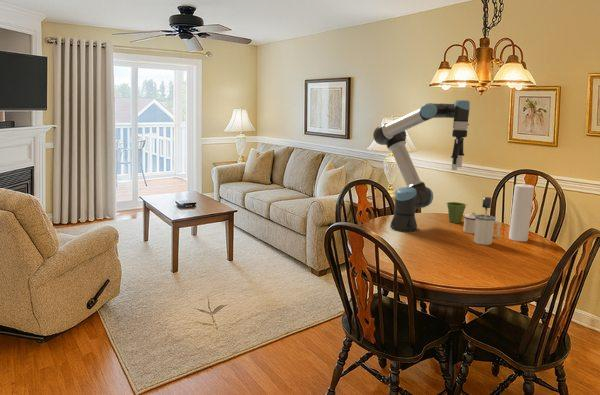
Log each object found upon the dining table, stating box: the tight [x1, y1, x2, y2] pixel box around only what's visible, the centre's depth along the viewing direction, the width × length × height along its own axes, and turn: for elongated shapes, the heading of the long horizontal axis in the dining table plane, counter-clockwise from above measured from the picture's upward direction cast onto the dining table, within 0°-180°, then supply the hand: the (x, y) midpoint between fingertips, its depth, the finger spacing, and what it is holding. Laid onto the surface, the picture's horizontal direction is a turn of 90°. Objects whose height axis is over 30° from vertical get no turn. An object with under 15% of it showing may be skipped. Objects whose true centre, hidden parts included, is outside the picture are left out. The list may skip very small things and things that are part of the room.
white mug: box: [473, 214, 501, 246], centre depth 244 cm, size 12×9×14 cm
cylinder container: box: [508, 183, 535, 242], centre depth 251 cm, size 9×9×30 cm
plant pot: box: [446, 201, 468, 224], centre depth 287 cm, size 12×12×11 cm
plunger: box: [481, 196, 492, 218], centre depth 244 cm, size 6×6×20 cm
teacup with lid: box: [462, 211, 478, 235], centre depth 266 cm, size 12×9×12 cm
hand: (456, 168), depth 254 cm, fingers open, 13 cm apart
